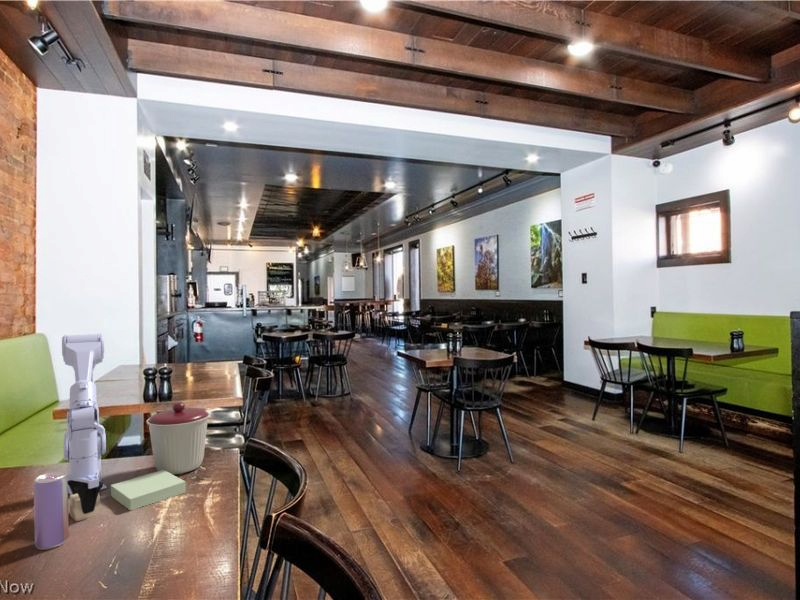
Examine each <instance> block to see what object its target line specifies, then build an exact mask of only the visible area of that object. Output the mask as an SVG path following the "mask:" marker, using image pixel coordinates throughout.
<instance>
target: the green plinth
mask: <svg viewBox="0 0 800 600" xmlns="http://www.w3.org/2000/svg"><path fill="white" fill-rule="evenodd" d="M186 491H187V490H186V481H185V480H183V479H181V478H179V477H178V476H175V474H174V475H172V474H171V473H169V472H167V471H165V470H161V471H158V470H157V471H155V472H154V471H153V472H151V473H147V474H143V475H141V476H140V475H139V476H136V477H134V478H131V479H127V480H124V481H123V480H122V481H120V482H117V483H113V484H110V496H111V497H112V498H113V499H115V501H117V502H118V503H119V504H121V505H122V506H123V505H124V506H123V507H125V508H126V509H127V508H128V511H130V510H132V511H134V510H133V509H135V510H137V509H136V508H138V509H140V508H139V507H141V508H143V507H142V506H144V507H146V506H145V505H147V506H149V504H150V505H152V503H153V504H154V503H159V502H161V501H164V500H167V499H170V498H173V497H176V496H179V495H181V494H184V493H185V494H186Z"/></svg>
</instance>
